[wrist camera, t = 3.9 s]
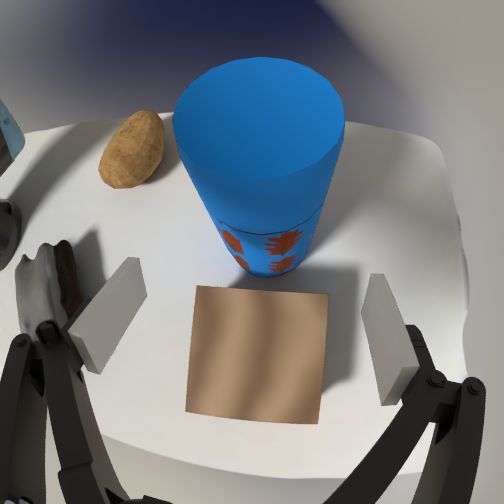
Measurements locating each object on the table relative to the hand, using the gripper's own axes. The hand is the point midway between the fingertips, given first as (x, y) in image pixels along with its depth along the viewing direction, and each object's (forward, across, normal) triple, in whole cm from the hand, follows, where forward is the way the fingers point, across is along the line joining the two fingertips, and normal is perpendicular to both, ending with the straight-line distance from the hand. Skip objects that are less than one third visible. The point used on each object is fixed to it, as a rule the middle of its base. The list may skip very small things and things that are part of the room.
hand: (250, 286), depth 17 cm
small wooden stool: (+12, 0, -19) cm, 23 cm away
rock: (+14, -30, -18) cm, 38 cm away
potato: (+31, -21, 0) cm, 38 cm away
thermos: (+23, 0, -8) cm, 24 cm away
